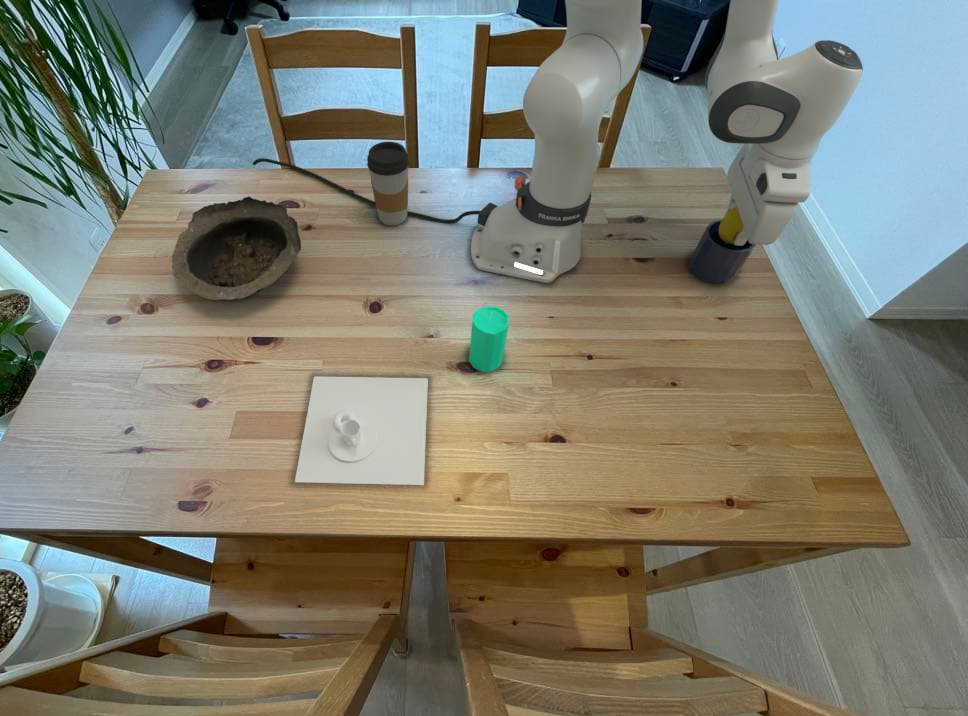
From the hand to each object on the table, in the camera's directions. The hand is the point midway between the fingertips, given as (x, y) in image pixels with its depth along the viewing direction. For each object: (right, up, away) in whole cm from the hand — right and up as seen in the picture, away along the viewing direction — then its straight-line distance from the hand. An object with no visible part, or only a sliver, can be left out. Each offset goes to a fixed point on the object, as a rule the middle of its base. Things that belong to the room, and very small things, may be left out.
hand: (733, 230), depth 95 cm
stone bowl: (-93, -6, +9) cm, 94 cm away
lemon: (0, -2, +3) cm, 3 cm away
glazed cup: (0, -5, +8) cm, 9 cm away
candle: (-46, -24, -3) cm, 52 cm away
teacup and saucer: (-67, -36, -10) cm, 77 cm away
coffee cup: (-64, +9, +18) cm, 67 cm away
